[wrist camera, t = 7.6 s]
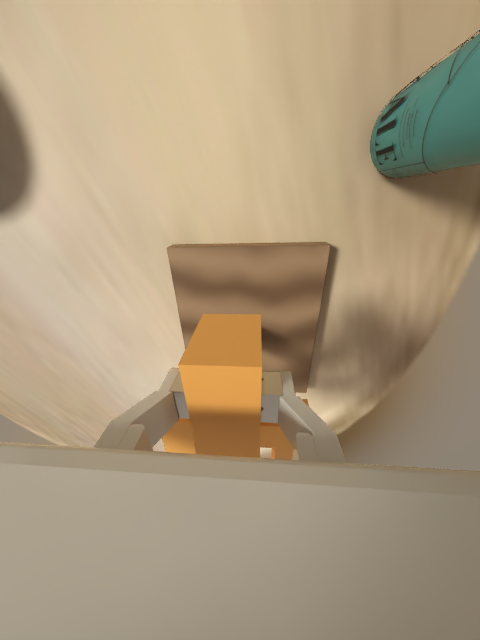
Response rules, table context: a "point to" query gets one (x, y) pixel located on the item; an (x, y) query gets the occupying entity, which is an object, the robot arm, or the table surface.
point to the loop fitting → (225, 392)
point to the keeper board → (256, 294)
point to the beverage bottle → (433, 119)
